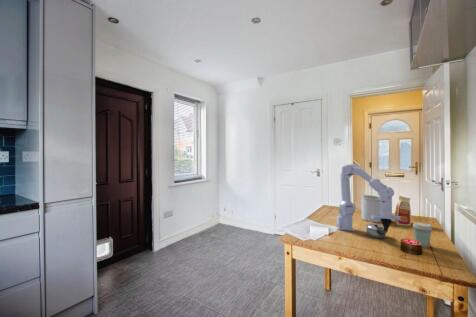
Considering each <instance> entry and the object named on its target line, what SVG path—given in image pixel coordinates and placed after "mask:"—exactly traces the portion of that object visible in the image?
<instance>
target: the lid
mask: <svg viewBox="0 0 476 317" xmlns="http://www.w3.org/2000/svg"><path fill="white" fill-rule="evenodd" d="M365 228H366V229H367V228H369V229H372V230H378V231H379V232H380V233H382V234H387V232H386V230H385V229H384V227H383V224H378V223H366V224H365Z"/></svg>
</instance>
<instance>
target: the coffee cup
mask: <svg viewBox="0 0 476 317" xmlns="http://www.w3.org/2000/svg"><path fill="white" fill-rule="evenodd" d="M412 227H413V235H414V241H415V240H416V241H419V242H420V243H421V245H422V247H421V248H425V249H427V248H429V247H430V241H431V235H432V230H433V227H432V225H431V224H429V223H427V222H421V221H419V222H418V221H417V222H416V221H415V222H413V224H412Z"/></svg>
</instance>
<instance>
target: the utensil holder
mask: <svg viewBox="0 0 476 317" xmlns="http://www.w3.org/2000/svg"><path fill="white" fill-rule="evenodd" d="M360 199H361V209H360V210H361V219H362V220H363V221H367V222H371V223H382V222H381V220H380V219H372V215H380V196H379V195H374V194H373V195H372V194H362V195H361V198H360Z"/></svg>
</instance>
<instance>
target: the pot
mask: <svg viewBox="0 0 476 317" xmlns="http://www.w3.org/2000/svg"><path fill="white" fill-rule="evenodd" d="M386 234H387V233H386ZM386 234H382V233H380V232H379V231H378V230H372V229H369V228H367V227H366V236H367V237H369V238H372V239H378V240H382V239H386Z"/></svg>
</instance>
